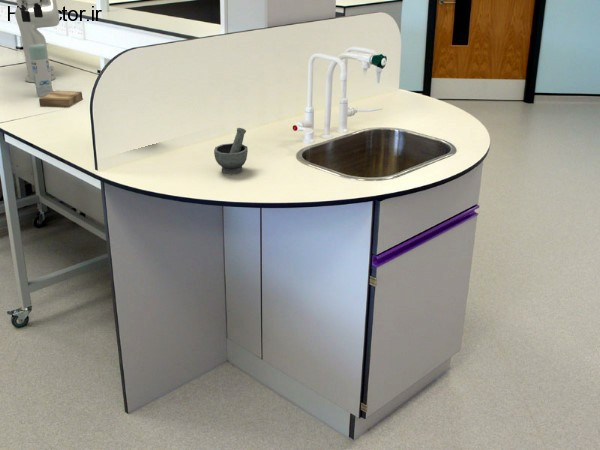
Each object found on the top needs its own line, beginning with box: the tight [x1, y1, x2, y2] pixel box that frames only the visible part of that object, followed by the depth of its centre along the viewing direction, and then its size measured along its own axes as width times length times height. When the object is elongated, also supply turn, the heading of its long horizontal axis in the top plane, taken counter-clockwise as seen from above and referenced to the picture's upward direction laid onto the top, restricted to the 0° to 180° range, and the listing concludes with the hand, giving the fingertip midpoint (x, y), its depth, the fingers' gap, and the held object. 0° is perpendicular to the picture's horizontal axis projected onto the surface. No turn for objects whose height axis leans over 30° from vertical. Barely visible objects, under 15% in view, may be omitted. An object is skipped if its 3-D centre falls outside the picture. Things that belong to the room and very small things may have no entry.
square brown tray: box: [38, 90, 84, 108], centre depth 278 cm, size 12×12×3 cm
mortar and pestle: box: [213, 127, 249, 176], centre depth 207 cm, size 11×9×12 cm
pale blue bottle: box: [29, 44, 54, 98], centre depth 285 cm, size 6×6×20 cm
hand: (33, 19), depth 276 cm, fingers open, 9 cm apart
